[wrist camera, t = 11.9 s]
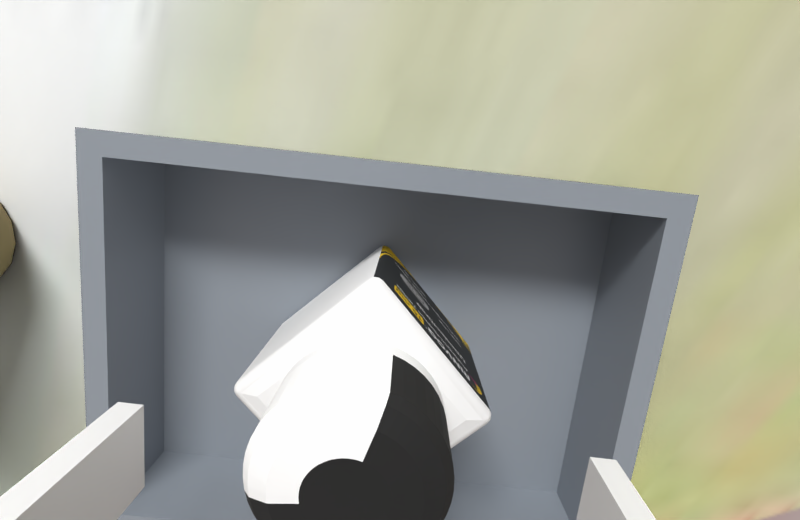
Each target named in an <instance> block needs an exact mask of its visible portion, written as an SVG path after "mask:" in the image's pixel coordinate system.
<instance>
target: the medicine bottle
mask: <svg viewBox="0 0 800 520" xmlns="http://www.w3.org/2000/svg"><path fill="white" fill-rule="evenodd" d="M234 392H235V394H236V396H237V397H238V398H239V399H240V400H241V401H242V402H243V403H244V404H245V405H246V406H247V408H248V409H249V410H250V411H251V412H252V413H253V414H254V415H255V416H256V417H257V418H258V419H259V420H260V422H259V424H258V425H257V427H256V429H255V431H254V433H253V434H252V436H251V438H250V440H249V443H248V446H247V449H246V451H245V457H244V462H243V484H244V491H245V494H246V498H247V501H248V504H249V506H250V508H251V511H252V513H253V515H254V516H255V518H256V520H444V519H445V517H446V515H447V513H448V510H449V508H450V505H451V502H452V497H453V492H454V479H455V477H454V467H453V460H452V453H451V448H453V447H454V446H456V445H457V444H458V443H460V442H461V441H463V440H464V439H466V438H467V437H469V436H470V435H471V434H473V433H474V432H476V431H477V430H479V429H480V428H482V427H483V426H485V425H486V424H487V423H488V422H489V421H490V418H491V411H490V408H489V405H488V402H487V399H486V396H485V393H484V390H483V387H482V384H481V381H480V378H479V375H478V372H477V369H476V366H475V363H474V360H473V357H472V354H471V351H470V348H469V346H468V344H467V343H466V342H465V340H464V339H463V338H462V337H461V335H460V334H459V333H458V332H457V330H456V329H455V328H454V327H453V326H452V324H451V323H450V322H449V321H448V319H447V318H446V317H445V316H444V314H443V313H442V312H441V311H440V309H439V308H438V307H437V306H436V305H435V303H434V302H433V301H432V300H431V298H430V297H429V296H428V295H427V293H426V292H425V291H424V290H423V289H422V287H421V286H420V285H419V284H418V282H417V281H416V280H415V279H414V277H413V276H412V275H411V274H410V272H409V271H408V270H407V269H406V268H405V266H404V265H403V264H402V263H401V261H400V260H399V259H398V258H397V256H396V255H395V254H394V253H393V252H392V250H391V249H390V248H389V247H387V246H381V247H379V248H378V249H376V250H375V251H374V252H373V253H371V254H370V255H369V256H368V257H366V258H365V259H364V260H362V261H361V262H360V263H359V264H357V265H356V266H355V267H354V268H352V269H351V270H350V271H349V272H347V273H346V274H345V275H343V276H342V277H341V278H340V279H338V280H337V281H336V282H335V283H333V284H332V285H331V286H329V287H328V288H327V289H326V290H324V291H323V292H322V293H321V294H319V295H318V296H317V297H315V298H314V299H313V300H312V301H310V302H309V303H308V304H307V305H305V306H304V307H303V308H301V309H300V310H299V311H298V312H296V313H295V314H294V315H293V316H291V317H290V318H289V319H287V320H286V321H285V322H284V323H282V325H281V326H280V327H279V329H278V330H277V331H276V332H275V334H274V335H273V336H272V338H271V339H270V340H269V341H268V343H267V344H266V345H265V346H264V348H263V349H262V350H261V352H260V353H259V354H258V355H257V357H256V358H255V359H254V361H253V362H252V363H251V364H250V366H249V367H248V368H247V370H246V371H245V372H244V373H243V375H242V376H241V377H240V379H239V380H238V381H237V382H236V384H235V387H234Z"/></svg>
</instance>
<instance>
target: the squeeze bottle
mask: <svg viewBox="0 0 800 520" xmlns="http://www.w3.org/2000/svg"><path fill="white" fill-rule="evenodd" d="M15 244H16V242H15V237H14V232H13V227H12V222H11V220H10V218H9V216H8V215H7V213H6V212H5V210H4V208H3V207H2V205H1V203H0V277H1V276H2V274H3V273H4V272H5V271H6V269H7V268H8V267H9V265H10V264H11V263H12V258H13V253H14V248H15Z"/></svg>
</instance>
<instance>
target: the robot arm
mask: <svg viewBox="0 0 800 520" xmlns="http://www.w3.org/2000/svg"><path fill="white" fill-rule="evenodd" d="M144 487H145V471H144V405H140V404H132V403H123V402H117V403H116V404H115V405H114V406H112V407H111V408H110V409H109V410H107V411H106V412H105V413H104V414H102V415H101V416H100V417H99V418H97V419H96V420H95V421H94V422H92V423H91V424H90V425H89V426H87V427H86V428H85V429H84V430H83V431H81V432H80V433H79V434H78V435H76V436H75V437H74V438H73V439H71V440H70V441H69V442H68V443H66V444H65V445H64V446H63V447H61V448H60V449H59V450H58V451H56V452H55V453H54V454H53V455H51V456H50V457H49V458H48V459H46V460H45V461H44V462H43V463H42V464H40V465H39V466H38V467H37V468H35V469H34V470H33V471H32V472H30V473H29V474H28V475H27V476H25V477H24V478H23V479H22V480H20V481H19V482H18V483H17V484H15V485H14V486H13V487H12V488H10V489H9V490H8V491H7V492H5V493H4V494H3V495H2V496H1V497H0V520H117V519H118V518H119V517H120V515H121V514H122V513H123V512H124V511H125V509H126V508H127V507H128V506H129V505H130V503H131V502H132V501H133V500H134V499H135V497H136V496H137V495H138V494H139V493H140V491H141V490H142V489H143V488H144ZM576 520H656V519H655V517H654V516H653V514H652V513H651V511H650V510H649V508H648V507H647V505H646V504H645V502H644V501H643V499H642V498H641V496H640V495H639V493H638V492H637V490H636V489H635V487H634V486H633V484H632V483H631V481H630V480H629V478H628V477H627V475H626V474H625V472H624V471H623V469H622V468H621V466H620V465H619V463H618V462H617V460H613V459H604V458H595V457H590V458H589V463H588V468H587V472H586V477H585V481H584V486H583V491H582V495H581V500H580V504H579V509H578V513H577V518H576Z"/></svg>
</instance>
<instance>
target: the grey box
mask: <svg viewBox="0 0 800 520" xmlns="http://www.w3.org/2000/svg"><path fill="white" fill-rule="evenodd" d="M75 136H76V163H77V190H78V217H79V244H80V271H81V298H82V325H83V352H84V379H85V406H86V427H87V426H89V425H90V424H91V423H92V422H94V421H95V420H96V419H97V418H99V417H100V416H101V415H102V414H104V413H105V412H106V411H107V410H109V409H110V408H111V407H112V406H114V405H115V404H116V403H117V402H123V403H132V404H140V405H144V471H145V487H144V488H143V489H142V490H141V491H140V493H139V494H138V495H137V496H136V497H135V499H134V500H133V501H132V502H131V503H130V505H129V506H128V507H127V508H126V509H125V511H124V512H123V513H122V514H121V515H120V517H119V518H118V519H117V520H256V518H255V516H254V515H253V513H252V511H251V508H250V506H249V504H248V501H247V498H246V494H245V491H244V484H243V462H244V457H245V451H246V449H247V446H248V443H249V440H250V438H251V436H252V434H253V433H254V431H255V429H256V427H257V425H258V424H259V422H260V420H259V419H258V418H257V417H256V416H255V415H254V414H253V413H252V412H251V411H250V410H249V409H248V408H247V406H246V405H245V404H244V403H243V402H242V401H241V400H240V399H239V398H238V397H237V396H236V394H235V392H234V387H235V384H236V382H237V381H238V380H239V379H240V377H241V376H242V375H243V373H244V372H245V371H246V370H247V368H248V367H249V366H250V364H251V363H252V362H253V361H254V359H255V358H256V357H257V355H258V354H259V353H260V352H261V350H262V349H263V348H264V346H265V345H266V344H267V343H268V341H269V340H270V339H271V338H272V336H273V335H274V334H275V332H276V331H277V330H278V329H279V327H280V326H281V325H282V323H284V322H285V321H286V320H287V319H289V318H290V317H291V316H293V315H294V314H295V313H296V312H298V311H299V310H300V309H301V308H303V307H304V306H305V305H307V304H308V303H309V302H310V301H312V300H313V299H314V298H315V297H317V296H318V295H319V294H321V293H322V292H323V291H324V290H326V289H327V288H328V287H329V286H331V285H332V284H333V283H335V282H336V281H337V280H338V279H340V278H341V277H342V276H343V275H345V274H346V273H347V272H349V271H350V270H351V269H352V268H354V267H355V266H356V265H357V264H359V263H360V262H361V261H362V260H364V259H365V258H366V257H368V256H369V255H370V254H371V253H373V252H374V251H375V250H376V249H378V248H379V247H381V246H387V247H389V248H390V249H391V250H392V252H393V253H394V254H395V255H396V256H397V258H398V259H399V260H400V261H401V263H402V264H403V265H404V266H405V268H406V269H407V270H408V271H409V272H410V274H411V275H412V276H413V277H414V279H415V280H416V281H417V282H418V284H419V285H420V286H421V287H422V289H423V290H424V291H425V292H426V293H427V295H428V296H429V297H430V298H431V300H432V301H433V302H434V303H435V305H436V306H437V307H438V308H439V309H440V311H441V312H442V313H443V314H444V316H445V317H446V318H447V319H448V321H449V322H450V323H451V324H452V326H453V327H454V328H455V329H456V330H457V332H458V333H459V334H460V335H461V337H462V338H463V339H464V340H465V342H466V343H467V344H468V346H469V348H470V351H471V354H472V357H473V360H474V363H475V366H476V369H477V372H478V375H479V378H480V381H481V384H482V387H483V390H484V393H485V396H486V399H487V402H488V405H489V408H490V411H491V418H490V421H489V422H488V423H487V424H486V425H485V426H483V427H482V428H480V429H479V430H477V431H476V432H474V433H473V434H471V435H470V436H469V437H467V438H466V439H464V440H463V441H461V442H460V443H458V444H457V445H456V446H454V447H453V448H451V453H452V460H453V467H454V477H455V479H454V492H453V497H452V502H451V505H450V508H449V510H448V513H447V515H446V517H445V519H444V520H576V518H577V513H578V509H579V504H580V500H581V495H582V491H583V486H584V481H585V477H586V472H587V468H588V463H589V458H590V457H595V458H604V459H613V460H617V462H618V463H619V465H620V466H621V468H622V469H623V471H624V472H625V474H626V475H627V477H628V478H629V480H630V481H631V477H632V473H633V469H634V465H635V461H636V456H637V452H638V448H639V444H640V440H641V435H642V431H643V427H644V423H645V419H646V414H647V410H648V406H649V402H650V398H651V393H652V389H653V385H654V381H655V377H656V373H657V368H658V364H659V360H660V356H661V352H662V347H663V343H664V339H665V335H666V331H667V326H668V322H669V318H670V314H671V310H672V305H673V301H674V297H675V293H676V289H677V285H678V280H679V276H680V272H681V268H682V264H683V259H684V255H685V251H686V247H687V243H688V238H689V234H690V230H691V226H692V222H693V217H694V213H695V209H696V205H697V201H698V196H699V195H691V194H682V193H673V192H664V191H655V190H646V189H637V188H628V187H619V186H610V185H601V184H592V183H583V182H574V181H564V180H555V179H546V178H537V177H528V176H519V175H509V174H500V173H491V172H482V171H473V170H464V169H454V168H445V167H436V166H427V165H418V164H409V163H399V162H390V161H381V160H372V159H363V158H354V157H345V156H335V155H326V154H317V153H308V152H299V151H290V150H280V149H271V148H262V147H253V146H244V145H235V144H225V143H216V142H207V141H198V140H189V139H180V138H170V137H161V136H152V135H143V134H133V133H124V132H115V131H105V130H96V129H87V128H77V127H75Z"/></svg>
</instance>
